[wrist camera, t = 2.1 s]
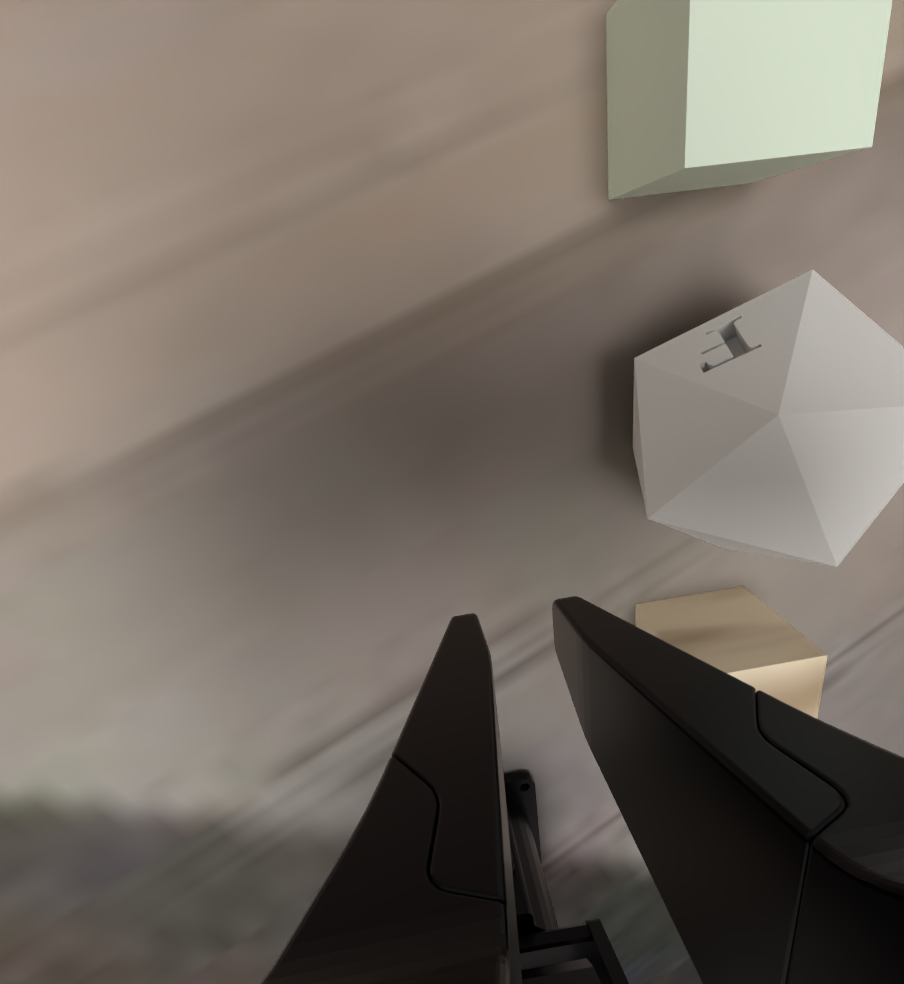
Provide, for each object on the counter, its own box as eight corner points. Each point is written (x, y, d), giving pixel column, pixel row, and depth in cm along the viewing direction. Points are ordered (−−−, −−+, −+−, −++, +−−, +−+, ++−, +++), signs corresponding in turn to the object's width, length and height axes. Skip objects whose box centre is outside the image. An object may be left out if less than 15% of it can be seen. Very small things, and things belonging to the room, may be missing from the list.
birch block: (734, 675, 26) (810, 758, 21) (634, 693, 26) (689, 782, 21) (742, 585, 24) (827, 655, 20) (634, 603, 24) (695, 678, 19)
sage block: (748, 183, 18) (871, 146, 14) (607, 200, 18) (685, 167, 13) (761, 0, 17) (907, -113, 12) (605, 15, 16) (693, -97, 12)
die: (819, 290, 21) (893, 157, 12) (927, 500, 19) (1096, 520, 11) (614, 388, 24) (556, 340, 15) (694, 572, 23) (681, 632, 14)
